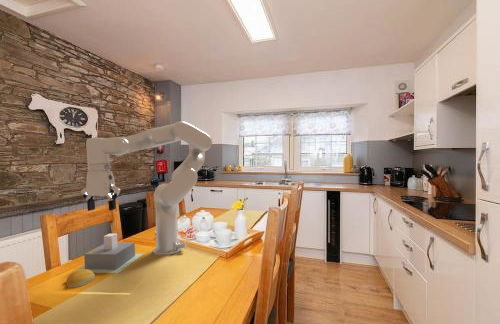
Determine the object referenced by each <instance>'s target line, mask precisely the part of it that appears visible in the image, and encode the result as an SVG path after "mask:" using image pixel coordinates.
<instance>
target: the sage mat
mask: <svg viewBox="0 0 500 324" xmlns="http://www.w3.org/2000/svg"><path fill="white" fill-rule="evenodd" d="M143 255H144V253H135V256H134V257H133V258H132V259H130V260H129V261H127V262H126V263H125V264H123V265H122V266H121V267H119V268H118V269H116V270H103V269H88V270H91V271H92V272H93V273H94V274H95V273H96V274H97V273H98V274H102V273H103V274H106V273H107V274H119V273H120V272H121V271H123V270H124V269H125V268H126V267H128V266H130V265H131V264H132V263H134V262H135V261H136V260H138V259H139V258H140V257H142V256H143ZM81 269H85V265H83V266H82V267H80V268H78V269H77V270H81ZM77 270H75V271H77Z"/></svg>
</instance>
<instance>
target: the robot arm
mask: <svg viewBox="0 0 500 324" xmlns="http://www.w3.org/2000/svg"><path fill="white" fill-rule="evenodd" d="M180 141H183V142H185V143H187V144H188V149H189V151H188V155H187V157H186V158H185V159H184V160H183V161H182V163H180V165H179V166H177V168H176V169H175V170H174V171H173V172H172V174H171V181H170V182H168V183H161V184H159V185H158V186H157V187H155V189H154V193H153V201H154V209H155V237H156V239H155V242H156V246H155V247H154V248H153V250H152V253H153V254H154V255H157V256H170V255H175V254H177V253H180V251H182V249H186V247H187V243H186V242H185V241H183V242H181V241H180V240H181V239H180V238H178V234H179V233H178V208H177V205H178V204H179V203H181V202H182V201H183V200H184V199H185V198H186V196H187V195H188V194H189V193H190V192H191V191H192V189H193V188H194V187H195V185H196V184H197V182H198V172H199V170H200V169H201V168H202V167H203V165H204V162H205V159H206V151H208V150H210V149H211V148H212V145H213V140H212V138H211V136H210V135H209V134H208V133H206V132H205V131H203V130H201V129H199V128H197V127H195V126H194V125H192V124H191V123H188V122H186V121H183V120H181V121H180V120H179V121H177V122H175V123H172V124H167V125H162V126H159V127H153V128H148V129H146V130H143V131H142V132H138V133H135V134H131V135H127V136H124V137H122V136H116V137H115V136H114V137H105V138H104V137H90V138H87V139H86V142H85V143H86V144H85V146H86V148H85V149H86V158H87V172H86V180H85V181H86V182H85V184H86V185H85V187H84V188H83V189H81V190H80V193H81V195H82V198H84V201H85V202H86V205H87V211H88V212H90V211H94V210H95V209H96V202H95V199H94V198H95V197H107V199H108V201H107V203H108V211H114V210H116V209H117V203H116V200H117V199H118V197H119V196H120V193H121V188H120V187H118V186H116V181H115V177H114V173H113V171H112V170H111V169H112V164H111V163H110V155H114V156H122V155H125V154H129V153H133V152H138V151H141V150H146V149H147V150H148V149H154V148H157V147H158V148H159V147H161V146H162V147H163V146H165V145H168V144H172V143H177V142H180Z"/></svg>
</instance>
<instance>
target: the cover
mask: <svg viewBox="0 0 500 324" xmlns="http://www.w3.org/2000/svg"><path fill="white" fill-rule="evenodd" d="M135 254H136V244H135V242H132V241H131V242H119V240H118V233H107V234H106V235H103V244H101V245H100V246H97V247H95V248H94V249H91V250H89V251H88V252H86V253H84V255H83V256H84V266H85V269H103V270H116V269H118V268H119V267H121V266H122V265H123V264H125V263H126V262H127V261H129V260H130V259H132V258H133V257H134V256H135Z"/></svg>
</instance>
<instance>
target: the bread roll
mask: <svg viewBox="0 0 500 324" xmlns="http://www.w3.org/2000/svg"><path fill="white" fill-rule="evenodd" d="M95 278H96V274H95V273H93V272H92V271H91V270H88V269H81V270H78V269H77V271H76V270H74V271H73V272H72V273H71V274H70V275H68V277H67V278H66V280H65V282H66V287H67V288H69V289H70V288H79V287H83V286H85V285H86V286H87V285H88V284H90V283H92V282H93V281H94V280H95Z"/></svg>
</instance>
